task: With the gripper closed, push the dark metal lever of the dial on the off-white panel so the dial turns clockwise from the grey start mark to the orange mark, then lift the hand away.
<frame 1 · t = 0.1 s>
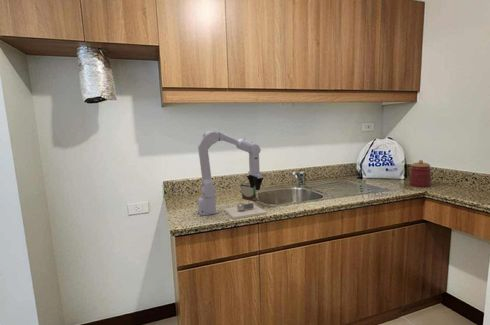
hand: (255, 188, 156), 10 cm above the worktop, tool pointing down, fingers open, 7 cm apart
canister: (419, 185, 190), on the worktop
dial panel: (244, 212, 145), on the worktop
food container: (251, 199, 171), on the worktop
dial lever: (245, 206, 145), point 3 cm above the worktop, hinge at 0.0°
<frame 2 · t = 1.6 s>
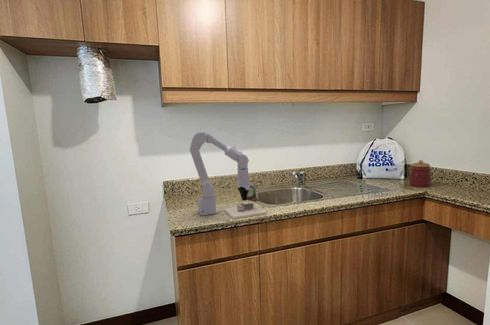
hand: (244, 200, 151), 5 cm above the worktop, tool pointing down, fingers closed
nothing on the worktop moved.
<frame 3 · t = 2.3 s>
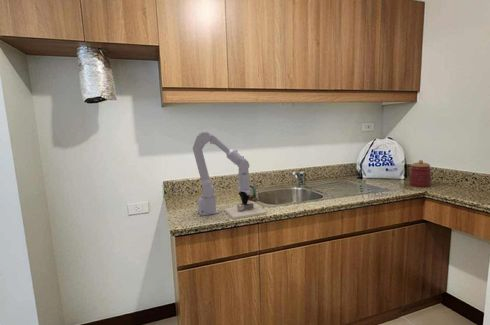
hand: (244, 205, 150), 3 cm above the worktop, tool pointing down, fingers closed
nothing on the worktop moved.
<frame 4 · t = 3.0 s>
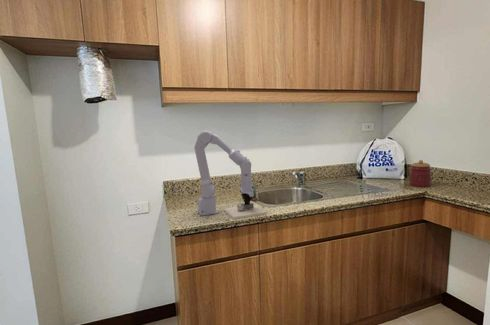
hand: (247, 206, 147), 3 cm above the worktop, tool pointing down, fingers closed, pressing on dial lever
dial lever: (245, 206, 145), point 3 cm above the worktop, hinge at -0.9°, touching gripper
everything else where it was.
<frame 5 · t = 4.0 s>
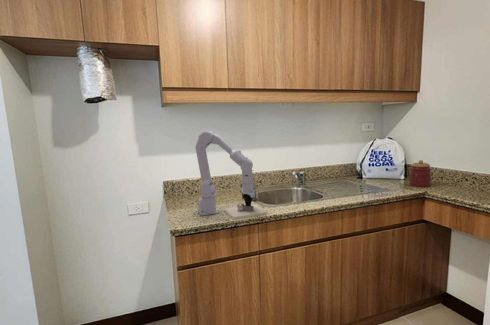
hand: (248, 207, 145), 3 cm above the worktop, tool pointing down, fingers closed, pressing on dial lever
dial lever: (245, 207, 143), point 3 cm above the worktop, hinge at -42.8°, touching gripper
everything else where it was.
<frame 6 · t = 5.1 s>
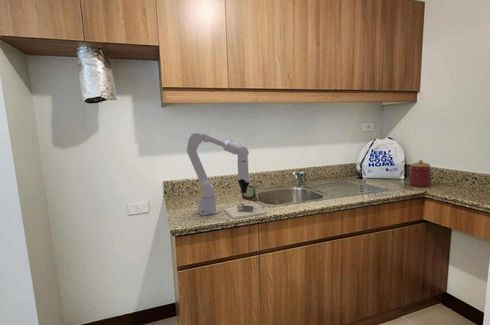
hand: (244, 192, 150), 9 cm above the worktop, tool pointing down, fingers closed
dial lever: (245, 207, 143), point 3 cm above the worktop, hinge at -48.9°
everything else where it was.
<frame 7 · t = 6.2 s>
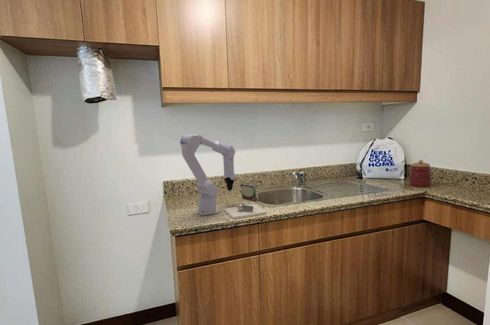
hand: (229, 190, 157), 9 cm above the worktop, tool pointing down, fingers closed
dial lever: (245, 207, 143), point 3 cm above the worktop, hinge at -49.2°
everything else where it was.
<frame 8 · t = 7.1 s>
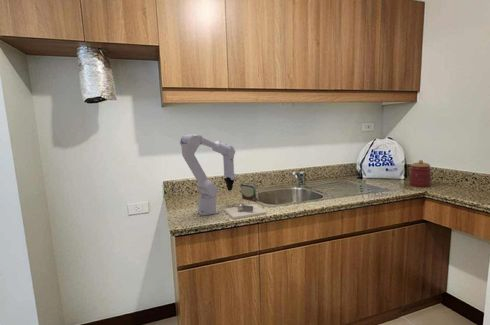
hand: (229, 190, 157), 9 cm above the worktop, tool pointing down, fingers closed
nothing on the worktop moved.
at the end: dial lever at -49° (first picture: +0°); food container moved 0.2 cm from its start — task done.
